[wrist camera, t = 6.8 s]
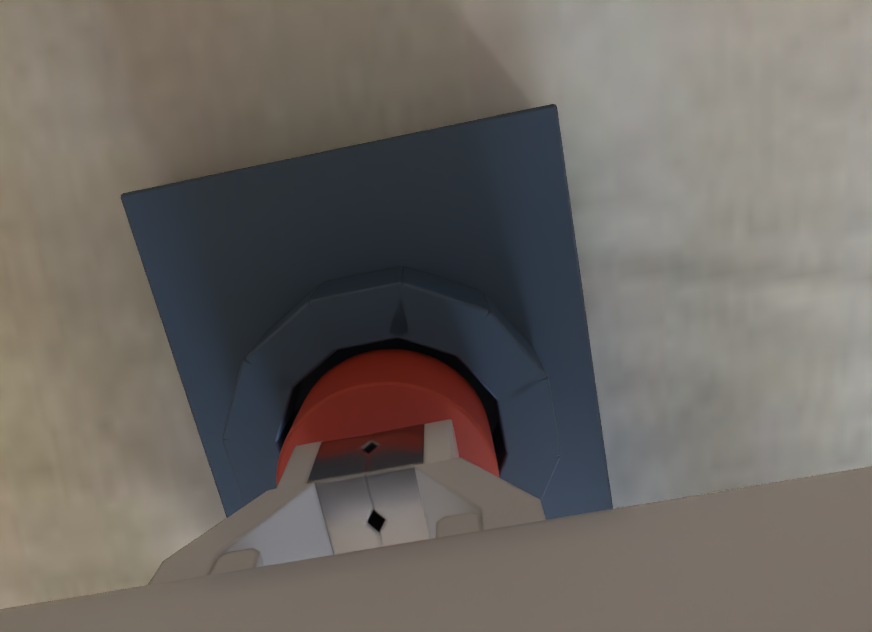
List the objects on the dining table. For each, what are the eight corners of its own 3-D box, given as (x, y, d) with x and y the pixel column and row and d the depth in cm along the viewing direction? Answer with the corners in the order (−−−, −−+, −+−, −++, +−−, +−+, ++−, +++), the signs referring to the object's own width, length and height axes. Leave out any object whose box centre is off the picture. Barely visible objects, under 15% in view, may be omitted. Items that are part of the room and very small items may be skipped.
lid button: (274, 368, 14) (248, 406, 12) (470, 330, 13) (478, 362, 11) (323, 538, 15) (306, 598, 13) (504, 505, 15) (516, 561, 13)
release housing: (158, 188, 16) (73, 201, 12) (540, 108, 16) (576, 96, 12) (288, 600, 19) (254, 712, 16) (603, 544, 19) (647, 645, 15)
